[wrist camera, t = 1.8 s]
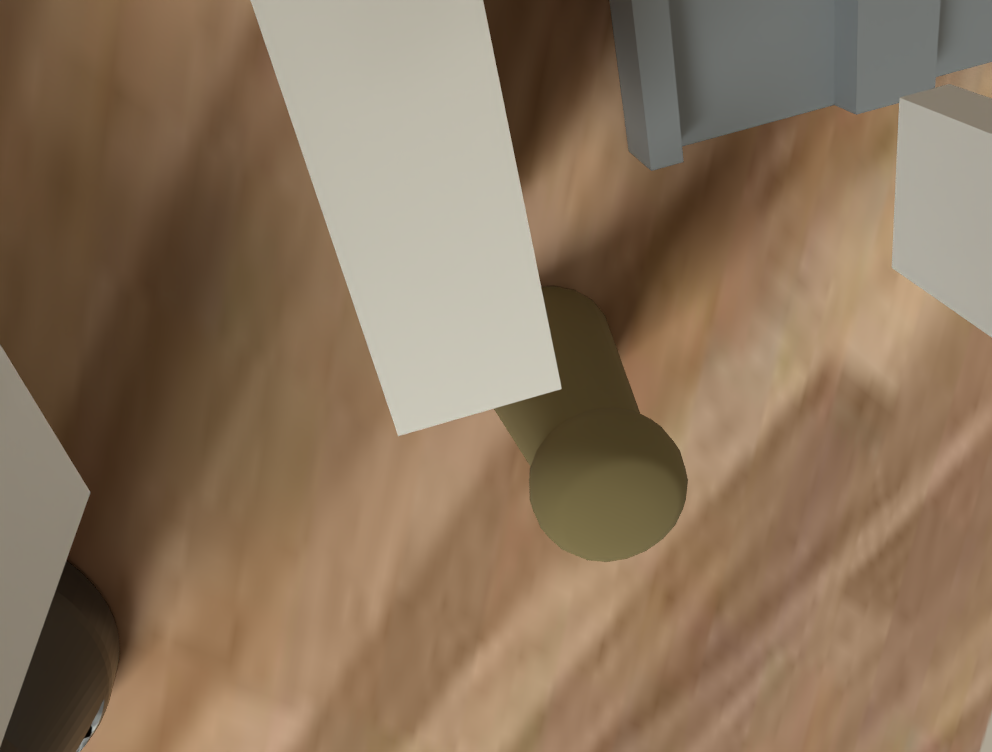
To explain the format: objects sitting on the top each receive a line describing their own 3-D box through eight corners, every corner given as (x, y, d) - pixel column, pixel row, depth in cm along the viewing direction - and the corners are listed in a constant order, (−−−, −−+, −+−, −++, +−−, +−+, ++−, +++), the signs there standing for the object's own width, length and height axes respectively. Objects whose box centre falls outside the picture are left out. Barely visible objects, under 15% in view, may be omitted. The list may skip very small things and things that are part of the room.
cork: (486, 427, 38) (546, 611, 28) (457, 307, 34) (514, 470, 25) (618, 391, 38) (720, 561, 29) (602, 269, 35) (710, 416, 25)
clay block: (369, 260, 33) (398, 436, 23) (234, -165, 25) (187, -186, 15) (482, 228, 33) (561, 389, 23) (382, -201, 26) (432, -247, 15)
